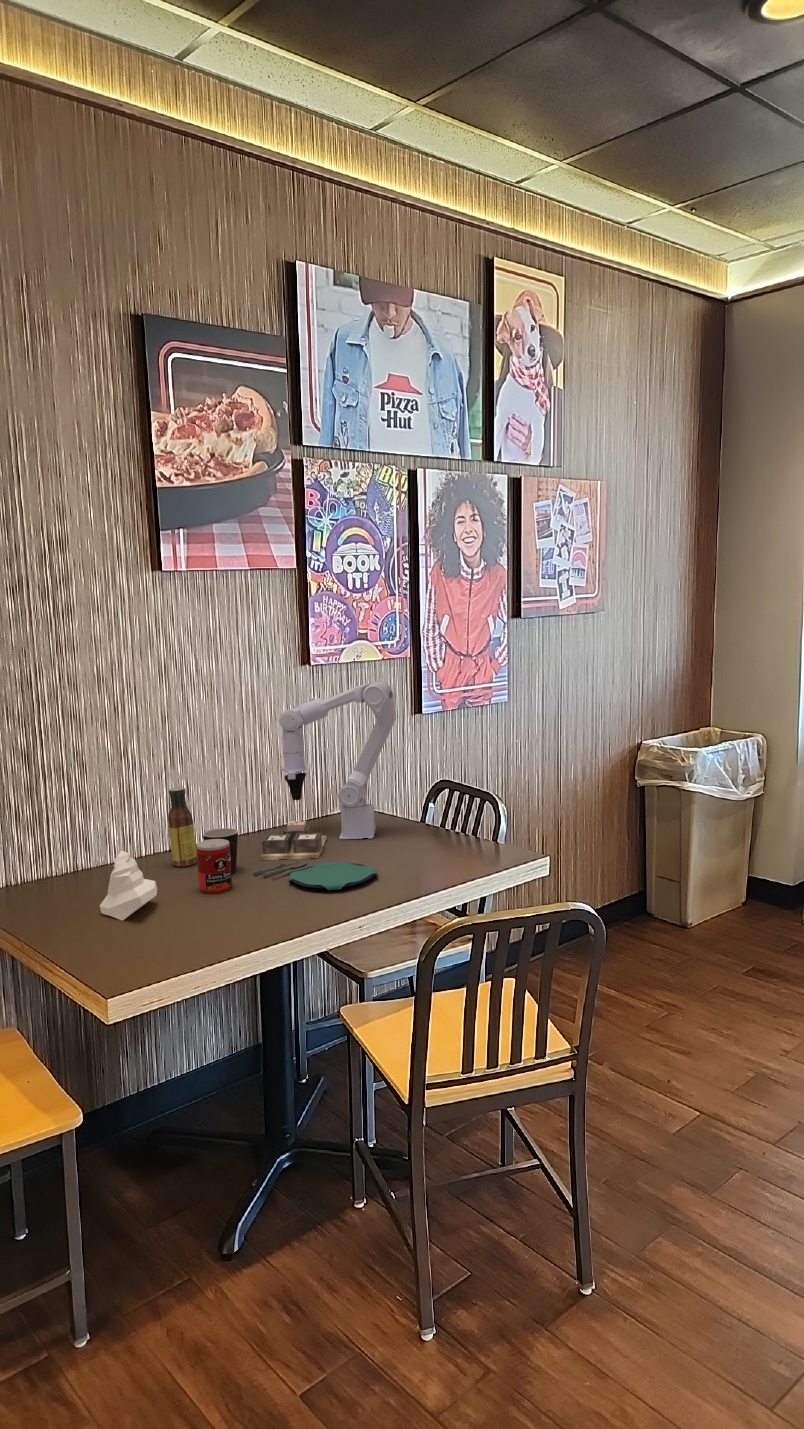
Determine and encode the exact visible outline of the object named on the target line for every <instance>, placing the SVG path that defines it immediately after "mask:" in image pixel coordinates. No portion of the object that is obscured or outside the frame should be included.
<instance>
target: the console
mask: <svg viewBox="0 0 804 1429" xmlns="http://www.w3.org/2000/svg"><path fill="white" fill-rule="evenodd" d="M313 834H317V836H316V839H298V838H299V836H300V835H313ZM281 835H287V837H286V838H285V840H268V838H269V837H270V836H281ZM326 840H328V835H322V832H312V827H311V824H306V829H305V830H297V831H288V827H287V825H286V826H285V828H284V829H283V831H282V833H271V834H269V833H268V834H266V835H265V836H264V837H263V839H262V841H261V844H262V845H261V846H262V853H261V855H260V861H280V860H279V859H288V860H310V859H309V858H319V859H320V857H321V855H320V854H322V852H323V850H324V848H323V847H325V845H326V843H327V841H326ZM325 842H326V843H325ZM319 856H320V857H319ZM306 858H307V859H306Z"/></svg>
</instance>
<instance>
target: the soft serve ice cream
mask: <svg viewBox="0 0 804 1429" xmlns="http://www.w3.org/2000/svg"><path fill="white" fill-rule="evenodd" d="M112 862H113V863H114V864H113V865H112V866H113V867H114V868H113V869H112V871H111V874H110V877H109V883H108V888H107V895H106V896H105V898H104V899H103V900H102V901H101V903H100V905H99V909H100V913H101V914H102V915H104V916H105V915H106V916H110V917H112V918H115V919H117V920H119V921H124V920H126V919H127V918H128V917H130V916H131V915H133V914H134V913H135V912H136V911H138V910H139V909H140V908H142V907H144V905H146V904H147V903H148V902H150V901H151V900H152V899H154V898H155V897H157V894H158V886H157V882H156V880H152V879H147V878H144V874H143V872H142V870H140V869H139V866H138V863H137V861H136V860H135V858H133V857H132V856H131V854H130V853H129V852H126V851H123V850H120V851H119V853H118V854H117V856H116V857H115V858H114V860H113V861H112Z"/></svg>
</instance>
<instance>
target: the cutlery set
mask: <svg viewBox="0 0 804 1429" xmlns="http://www.w3.org/2000/svg"><path fill="white" fill-rule="evenodd" d="M294 861H295V862H297V863H293V864H292V863H290V862H291V861H289V862H284V863H283V862H282V863H277V865H275V866H272V867H269V868H265V869H260V870H256V871H255V870H254V871H253V872H252V875H253V876H257V875H261V874H262V877H263V878H266V877H267V876H268V877H269V876H270V875H274V874H277V873H279V872H284V871H285V873H282V874H278V875H276V876H273V877H272V876H271V879H272V880H271V881H274V880H275V879H277V878H280V877H282V876H286V875H289V876H288V883H289V884H291V883H290V882H291V881H292V882H293V883H295V884H296V885H298V886H302V887H306V888H314V889H315V888H316V889H327V890H328V891H332V890H334V891H335V890H341V889H342V888H345V887H351V886H355V885H358V884H359V885H360V884H362V883H364V882H366V881H369V880H371V879H372V878H373V877H374V876H375V874H377V876H379V874H378V871H377V869H376V868H375V867H374V866H372V865H370V866H369V865H364V864H361V863H360V864H359V863H353V862H347V861H332V862H323V863H317V864H315V863H312V864H309V865H307V863H308V862H307V861H297V860H294ZM303 862H304V863H305V864H300V865H299V864H298V863H303ZM296 864H298V865H296ZM287 865H289V866H287ZM291 865H294V866H292V867H290V866H291ZM303 865H305V866H303ZM313 865H314V866H313ZM283 866H286V867H287V868H285V867H284V868H283ZM302 866H303V867H302ZM299 867H300V868H299ZM279 868H280V869H279ZM290 868H294V869H290ZM268 871H269V872H268Z"/></svg>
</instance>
